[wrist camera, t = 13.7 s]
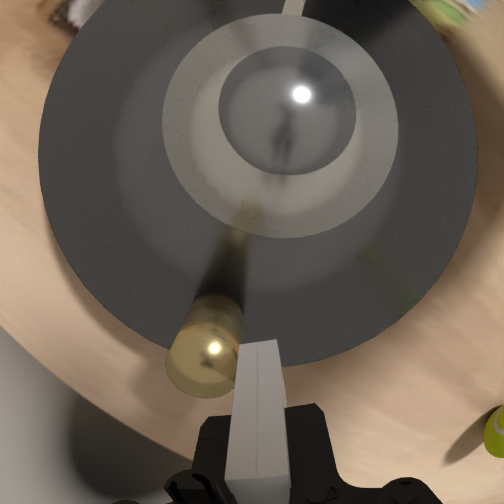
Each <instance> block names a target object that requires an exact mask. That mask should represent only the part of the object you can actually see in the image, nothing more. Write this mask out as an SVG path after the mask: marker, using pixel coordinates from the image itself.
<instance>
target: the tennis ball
mask: <svg viewBox="0 0 504 504" xmlns="http://www.w3.org/2000/svg"><path fill="white" fill-rule="evenodd" d="M483 441H484V445H485V448H486V450H487V451H488V452H489V453H490V454H491V455H493V456H495V457H498V458H504V405H502V406H501V407H499V408H498V409H497V410H496V411H495V412H494V413H493V414H492V415H491V416H490V418H489V419H488V421H487V423H486V426H485V428H484V434H483Z"/></svg>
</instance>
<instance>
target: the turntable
mask: <svg viewBox="0 0 504 504" xmlns="http://www.w3.org/2000/svg"><path fill="white" fill-rule="evenodd" d="M263 14H290V15H298V16H302V17H307V18H311V19H314V20H317V21H320V22H322V23H325V24H327V25H329V26H331V27H333V28H335V29H337V30H339V31H341V32H342V33H344V34H345V35H347V36H348V37H350V38H351V39H353V40H354V41H355V42H356V43H357V44H358V45H360V46H361V47H362V48H363V49H364V50H365V51H366V52H367V53H368V54H369V56H370V57H371V58H372V59H373V60H374V61H375V63H376V64H377V66H378V67H379V69H380V70H381V71H382V73H383V75H384V77H385V79H386V81H387V83H388V85H389V87H390V90H391V93H392V95H393V98H394V102H395V106H396V111H397V119H398V142H397V148H396V154H395V157H394V161H393V164H392V167H391V170H390V172H389V174H388V176H387V178H386V180H385V182H384V184H383V185H382V187H381V188H380V190H379V191H378V193H377V194H376V195H375V196H374V198H373V199H372V200H371V201H370V202H369V203H368V204H367V205H366V206H365V207H364V208H363V209H362V210H361V211H360V212H358V213H357V214H356V215H355V216H353V217H352V218H350V219H349V220H347V221H346V222H344V223H342V224H340V225H338V226H336V227H334V228H332V229H330V230H327V231H324V232H321V233H318V234H315V235H309V236H304V237H297V238H272V237H264V236H259V235H254V234H250V233H247V232H244V231H241V230H238V229H236V228H234V227H232V226H230V225H228V224H225V223H223V222H222V221H220V220H218V219H217V218H215V217H214V216H212V215H211V214H209V213H208V212H207V211H206V210H205V209H203V208H202V207H201V206H200V205H199V204H197V203H196V201H195V200H194V199H193V198H192V197H191V196H190V195H189V194H188V193H187V191H186V190H185V189H184V187H183V186H182V184H181V183H180V181H179V180H178V178H177V176H176V175H175V173H174V171H173V169H172V167H171V165H170V162H169V159H168V156H167V153H166V150H165V145H164V139H163V131H162V114H163V105H164V100H165V96H166V92H167V89H168V86H169V84H170V81H171V79H172V77H173V75H174V73H175V71H176V69H177V68H178V66H179V64H180V63H181V62H182V60H183V59H184V58H185V56H186V55H187V54H188V52H189V51H190V50H191V49H192V48H193V47H194V46H195V45H196V44H197V43H198V42H200V41H201V40H202V39H204V38H205V37H206V36H207V35H209V34H210V33H212V32H213V31H215V30H217V29H219V28H220V27H222V26H224V25H226V24H229V23H231V22H234V21H236V20H239V19H243V18H247V17H250V16H256V15H263ZM477 160H478V147H477V136H476V127H475V120H474V115H473V111H472V107H471V103H470V99H469V95H468V92H467V89H466V87H465V84H464V81H463V79H462V76H461V74H460V71H459V69H458V67H457V65H456V63H455V61H454V59H453V58H452V56H451V54H450V52H449V50H448V49H447V47H446V45H445V43H444V42H443V41H442V39H441V38H440V36H439V35H438V34H437V32H436V31H435V29H434V28H433V27H432V25H431V24H430V23H429V22H428V20H427V19H426V18H425V17H424V16H423V15H422V14H421V13H420V12H419V11H418V10H417V9H416V8H415V7H414V6H413V5H412V4H411V3H410V2H409V1H408V0H107V1H105V2H104V3H103V4H102V5H101V6H100V7H99V8H98V9H97V10H96V11H95V13H94V14H93V15H92V16H91V17H90V18H89V19H88V20H87V22H86V23H85V24H84V25H83V26H82V28H81V29H80V31H79V32H78V33H77V35H76V36H75V38H74V39H73V41H72V42H71V44H70V45H69V47H68V48H67V50H66V52H65V54H64V56H63V58H62V60H61V62H60V64H59V66H58V68H57V70H56V72H55V74H54V77H53V79H52V82H51V85H50V88H49V91H48V94H47V97H46V100H45V104H44V109H43V114H42V119H41V124H40V132H39V148H38V163H39V176H40V186H41V191H42V195H43V200H44V205H45V209H46V213H47V216H48V219H49V221H50V224H51V227H52V230H53V232H54V235H55V238H56V240H57V242H58V244H59V246H60V248H61V250H62V252H63V253H64V255H65V257H66V259H67V261H68V263H69V264H70V266H71V267H72V269H73V270H74V272H75V273H76V274H77V276H78V277H79V279H80V280H81V281H82V283H83V284H84V286H85V287H86V288H87V289H88V290H89V291H90V292H91V294H92V295H93V296H94V297H95V298H96V299H97V300H98V301H99V302H100V303H101V304H102V305H103V306H104V307H105V308H106V309H107V310H108V311H109V312H110V313H112V314H113V315H114V316H115V317H116V318H118V319H119V320H120V321H121V322H123V323H124V324H125V325H126V326H128V327H129V328H131V329H132V330H134V331H136V332H137V333H139V334H140V335H142V336H144V337H145V338H147V339H148V340H150V341H152V342H154V343H156V344H158V345H160V346H162V347H165V348H167V349H169V350H170V351H169V353H168V356H167V358H166V371H167V374H168V376H169V378H170V380H171V381H172V383H173V384H174V385H175V386H176V387H177V388H179V389H180V390H181V391H183V392H185V393H186V394H189V395H191V396H194V397H198V398H216V397H220V396H223V395H225V394H226V393H228V392H229V391H231V390H232V389H233V388H234V386H235V380H236V371H237V362H238V353H239V345H240V344H247V343H254V342H261V341H268V340H274V339H277V344H278V350H279V355H280V361H281V367H287V366H295V365H300V364H305V363H309V362H314V361H318V360H322V359H325V358H328V357H331V356H333V355H336V354H339V353H342V352H344V351H347V350H350V349H352V348H354V347H356V346H358V345H360V344H361V343H363V342H365V341H367V340H369V339H371V338H373V337H375V336H376V335H378V334H379V333H381V332H382V331H384V330H385V329H386V328H388V327H389V326H391V325H392V324H394V323H395V322H396V321H398V320H399V319H400V318H401V317H402V316H404V315H405V314H406V313H407V312H408V311H409V310H410V309H411V308H412V307H413V306H415V305H416V304H417V303H418V302H419V301H420V300H421V298H422V297H423V296H424V295H425V294H426V293H427V291H428V290H429V289H430V288H431V287H432V285H433V284H434V283H435V282H436V281H437V279H438V278H439V276H440V275H441V273H442V272H443V270H444V269H445V267H446V265H447V264H448V262H449V261H450V259H451V257H452V256H453V254H454V252H455V249H456V247H457V245H458V243H459V241H460V239H461V236H462V234H463V232H464V229H465V226H466V223H467V220H468V217H469V214H470V210H471V207H472V203H473V197H474V192H475V186H476V179H477Z"/></svg>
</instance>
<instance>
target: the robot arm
mask: <svg viewBox="0 0 504 504" xmlns="http://www.w3.org/2000/svg"><path fill="white" fill-rule="evenodd" d="M164 489H165V490H166V492H167V493H168V494H169V496H170V497H171V498H172V500H173V502H171V503H167V504H443V503H442V502H441V501H440V500H439V499H438V498H437V496H436V495H435V494H434V493H433V492H432V491H431V489H430V488H429V487H428V486H427V485H426V484H425V483H423V482H422V481H421V480H419V479H415V478H412V477H405V478H398V479H395V480H393V481H390V482H389V483H388V484H386V485H385V486H383V487H382V488H360V487H355V486H352V485H349V484H348V483H346V482H345V481H343V480H342V479H341V477H340V476H339V474H338V472H337V468H336V464H335V459H334V455H333V450H332V446H331V442H330V437H329V433H328V429H327V425H326V420H325V416H324V412H323V411H322V410H321V409H320V408H319V407H318V406H317V405H316V404H315V403H312V404H307V405H301V406H295V407H288V408H287V401H286V391H285V385H284V379H283V373H282V367H281V361H280V355H279V350H278V344H277V339H274V340H268V341H261V342H254V343H247V344H240V345H239V353H238V362H237V371H236V380H235V389H234V398H233V407H232V415H225V416H210V417H208V418H207V419H206V421H205V422H204V423H203V425H202V426H201V427H200V432H199V436H198V441H197V446H196V451H195V455H194V460H193V464H192V469H191V470H184V471H181V472H179V473H177V474H174V475H173V476H172V477H171V478H170V479H168V480H167V482H166V484H165V486H164ZM113 504H139V503H137V502H135V501H131V500H122V501H118V502H115V503H113Z"/></svg>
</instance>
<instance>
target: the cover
mask: <svg viewBox="0 0 504 504" xmlns="http://www.w3.org/2000/svg"><path fill="white" fill-rule="evenodd" d="M162 131H163V139H164V145H165V150H166V153H167V156H168V159H169V162H170V165H171V167H172V169H173V171H174V173H175V175H176V176H177V178H178V180H179V181H180V183H181V184H182V186H183V187H184V189H185V190H186V191H187V193H188V194H189V195H190V196H191V197H192V198H193V199H194V200H195V201H196V203H197V204H199V205H200V206H201V207H202V208H203V209H205V210H206V211H207V212H208V213H209V214H211V215H212V216H214V217H215V218H217V219H218V220H220V221H222V222H223V223H225V224H228V225H230V226H232V227H234V228H236V229H238V230H241V231H244V232H247V233H250V234H254V235H259V236H264V237H272V238H297V237H304V236H309V235H315V234H318V233H321V232H324V231H327V230H330V229H332V228H334V227H336V226H338V225H340V224H342V223H344V222H346V221H347V220H349V219H350V218H352V217H353V216H355V215H356V214H357V213H358V212H360V211H361V210H362V209H363V208H364V207H365V206H366V205H367V204H368V203H369V202H370V201H371V200H372V199H373V198H374V196H375V195H376V194H377V193H378V191H379V190H380V188H381V187H382V185H383V184H384V182H385V180H386V178H387V176H388V174H389V172H390V170H391V167H392V164H393V161H394V157H395V154H396V148H397V142H398V119H397V111H396V106H395V102H394V98H393V95H392V93H391V90H390V87H389V85H388V83H387V81H386V79H385V77H384V75H383V73H382V71H381V70H380V69H379V67H378V66H377V64H376V63H375V61H374V60H373V59H372V58H371V57H370V56H369V54H368V53H367V52H366V51H365V50H364V49H363V48H362V47H361V46H360V45H358V44H357V43H356V42H355V41H354V40H353V39H351V38H350V37H348V36H347V35H345V34H344V33H342V32H341V31H339V30H337V29H335V28H333V27H331V26H329V25H327V24H325V23H322V22H320V21H317V20H314V19H311V18H307V17H302V16H298V15H290V14H263V15H256V16H250V17H247V18H243V19H239V20H236V21H234V22H231V23H229V24H226V25H224V26H222V27H220V28H219V29H217V30H215V31H213V32H212V33H210V34H209V35H207V36H206V37H205V38H204V39H202V40H201V41H200V42H198V43H197V44H196V45H195V46H194V47H193V48H192V49H191V50H190V51H189V52H188V54H187V55H186V56H185V58H184V59H183V60H182V62H181V63H180V64H179V66H178V68H177V69H176V71H175V73H174V75H173V77H172V79H171V81H170V84H169V86H168V89H167V92H166V96H165V100H164V105H163V114H162Z"/></svg>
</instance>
